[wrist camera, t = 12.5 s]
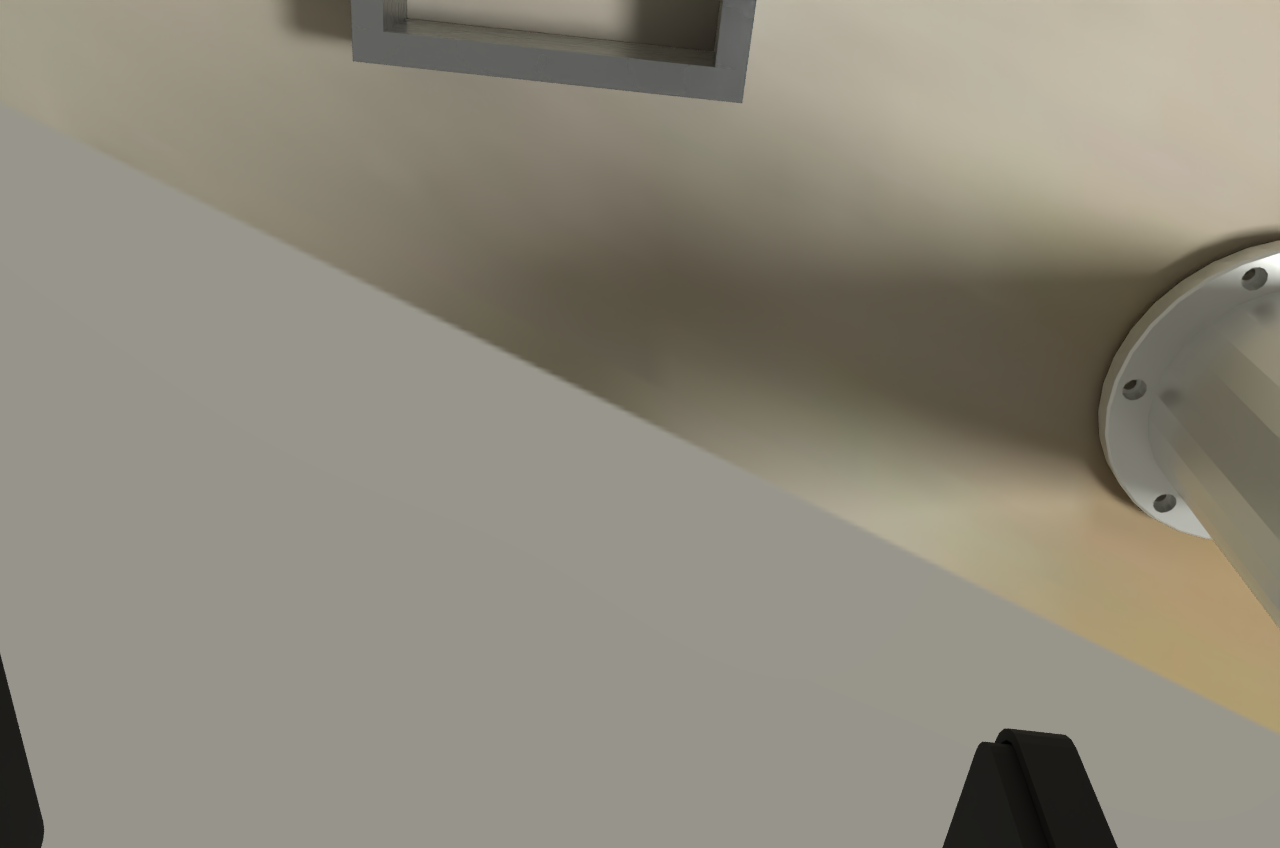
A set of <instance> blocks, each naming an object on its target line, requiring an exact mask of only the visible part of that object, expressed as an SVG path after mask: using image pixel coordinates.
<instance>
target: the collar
mask: <svg viewBox="0 0 1280 848" xmlns="http://www.w3.org/2000/svg"><path fill="white" fill-rule="evenodd" d="M755 6H756V0H720V7H719V15H718V23H717V31H716V39H715V47H714V52H712V51H703V50H694V49H685V48H675V47H666V46H657V45H647V44H638V43H629V42H620V41H610V40H601V39H592V38H583V37H573V36H564V35H555V34H546V33H536V32H527V31H518V30H509V29H499V28H490V27H481V26H472V25H462V24H453V23H444V22H435V21H425V20H416V19H407V0H351V22H352V50H353V61H356V62H365V63H375V64H384V65H393V66H402V67H412V68H421V69H430V70H439V71H449V72H458V73H467V74H477V75H486V76H495V77H504V78H514V79H523V80H532V81H541V82H551V83H560V84H569V85H578V86H588V87H597V88H606V89H615V90H625V91H634V92H643V93H652V94H662V95H671V96H680V97H689V98H699V99H708V100H717V101H726V102H736V103H742V100H743V93H744V86H745V79H746V71H747V64H748V57H749V50H750V42H751V35H752V28H753V21H754V14H755Z"/></svg>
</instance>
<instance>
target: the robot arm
mask: <svg viewBox="0 0 1280 848" xmlns="http://www.w3.org/2000/svg"><path fill="white" fill-rule="evenodd" d="M1248 270H1249V271H1248ZM1247 271H1248V273H1247V274H1245V273H1246V272H1247ZM1244 274H1245V275H1244ZM1129 381H1131V382H1129ZM1128 382H1129V383H1128ZM1126 383H1128V384H1126ZM1098 417H1099V438H1100V441H1101V445H1102V448H1103V452H1104V455H1105V459H1106V462H1107V464H1108V465H1109V467H1110V469H1111V470H1112V472H1113V474H1114V476H1115V477H1116V479H1117V481H1118V482H1119V484H1120V485H1121V487H1122V488H1123V489H1124V491H1125V492H1126V493H1127V494H1128V496H1129V497H1130V498H1131V500H1132V501H1133V502H1134V503H1135V504H1136V505H1137V506H1138V507H1139V508H1140V509H1142V510H1143V511H1144V512H1145V513H1146V514H1147V515H1149V516H1150V517H1151V518H1153V519H1155V520H1157V521H1159V522H1161V523H1162V524H1164V525H1166V526H1168V527H1170V528H1172V529H1174V530H1176V531H1179V532H1182V533H1186V534H1189V535H1193V536H1196V537H1200V538H1203V539H1211V540H1213V541H1214V542H1215V543H1216V545H1217V546H1218V547H1219V549H1220V550H1221V551H1222V553H1223V554H1224V556H1225V557H1226V558H1227V560H1228V561H1229V562H1230V564H1231V565H1232V566H1233V568H1234V569H1235V570H1236V572H1237V573H1238V574H1239V576H1240V577H1241V578H1242V580H1243V581H1244V582H1245V584H1246V585H1247V586H1248V588H1249V589H1250V590H1251V592H1252V593H1253V594H1254V596H1255V597H1256V598H1257V600H1258V601H1259V602H1260V604H1261V605H1262V606H1263V608H1264V609H1265V610H1266V612H1267V613H1268V614H1269V616H1270V617H1271V618H1272V620H1273V621H1274V622H1275V624H1276V625H1277V626H1278V628H1279V629H1280V240H1278V241H1274V242H1270V243H1266V244H1262V245H1257V246H1253V247H1249V248H1246V249H1244V250H1241V251H1239V252H1236V253H1234V254H1232V255H1229V256H1227V257H1224V258H1222V259H1219V260H1217V261H1214V262H1212V263H1211V264H1209V265H1207V266H1206V267H1204V268H1202V269H1201V270H1199V271H1197V272H1196V273H1194V274H1192V275H1191V276H1189V277H1187V278H1186V279H1184V280H1182V281H1181V282H1180V283H1179V284H1177V285H1176V286H1175V287H1174V288H1172V289H1171V290H1170V291H1169V292H1168V293H1166V294H1165V295H1164V296H1163V297H1161V298H1160V299H1159V300H1158V301H1157V302H1155V303H1154V304H1153V305H1152V307H1151V308H1150V309H1149V310H1148V311H1147V312H1146V313H1145V314H1144V315H1143V317H1142V318H1141V319H1140V320H1139V321H1138V322H1137V323H1136V324H1135V326H1134V327H1133V328H1132V329H1131V331H1130V332H1129V334H1128V335H1127V337H1126V338H1125V340H1124V342H1123V343H1122V345H1121V346H1120V348H1119V350H1118V351H1117V353H1116V354H1115V356H1114V358H1113V361H1112V363H1111V366H1110V368H1109V371H1108V373H1107V376H1106V378H1105V381H1104V383H1103V388H1102V394H1101V399H1100V405H1099V410H1098ZM43 835H44V825H43V819H42V815H41V812H40V808H39V804H38V800H37V796H36V792H35V788H34V784H33V780H32V776H31V773H30V769H29V765H28V761H27V757H26V753H25V749H24V745H23V741H22V737H21V733H20V729H19V726H18V722H17V718H16V714H15V710H14V706H13V702H12V698H11V694H10V690H9V687H8V683H7V679H6V675H5V671H4V667H3V663H2V659H1V655H0V848H41V846H42V842H43ZM943 848H1118V847H1117V845H1116V843H1115V840H1114V838H1113V835H1112V833H1111V831H1110V828H1109V826H1108V823H1107V821H1106V819H1105V816H1104V814H1103V811H1102V809H1101V807H1100V804H1099V802H1098V800H1097V797H1096V795H1095V792H1094V790H1093V787H1092V785H1091V783H1090V780H1089V778H1088V775H1087V773H1086V771H1085V768H1084V766H1083V763H1082V761H1081V759H1080V756H1079V754H1078V751H1077V749H1076V747H1075V745H1074V744H1073V742H1072V740H1071V739H1070V738H1069V737H1067V736H1066V735H1062V734H1052V733H1044V732H1035V731H1026V730H1017V729H1003V730H1002V731H1001V732H1000V733H999V735H998V737H997V739H996V741H995V743H990V742H982V743H980V744H979V746H978V748H977V750H976V752H975V755H974V758H973V761H972V764H971V767H970V770H969V773H968V775H967V779H966V781H965V784H964V787H963V790H962V793H961V796H960V799H959V801H958V804H957V807H956V810H955V813H954V816H953V819H952V822H951V825H950V827H949V830H948V833H947V836H946V839H945V842H944V845H943Z"/></svg>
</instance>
